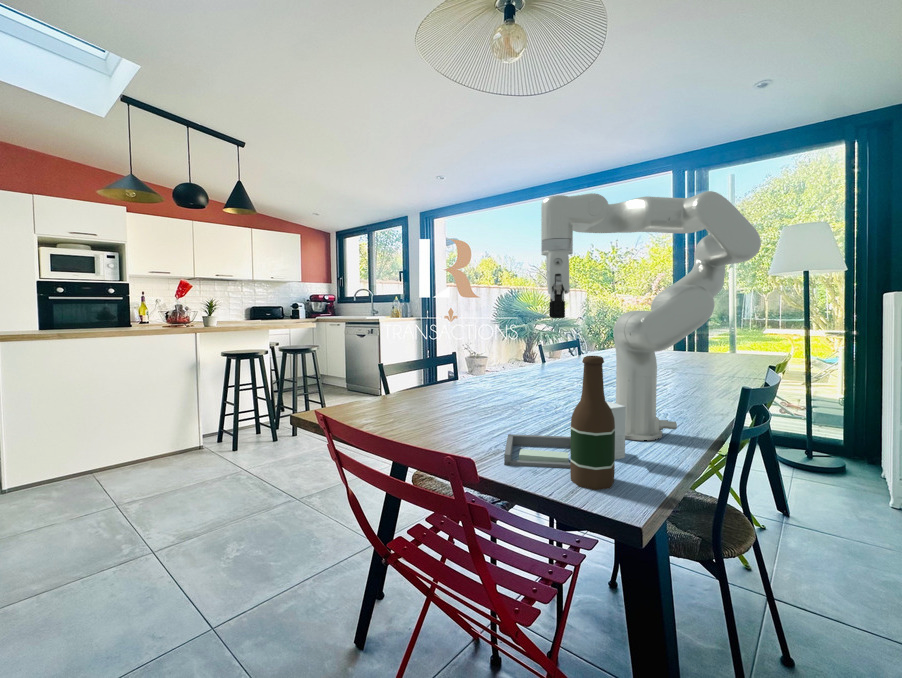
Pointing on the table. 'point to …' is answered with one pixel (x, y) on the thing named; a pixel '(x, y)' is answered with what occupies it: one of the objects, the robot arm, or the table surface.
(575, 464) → the beer bottle
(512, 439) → the grey tray
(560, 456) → the upper offcut
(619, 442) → the skincare box
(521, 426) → the table surface
